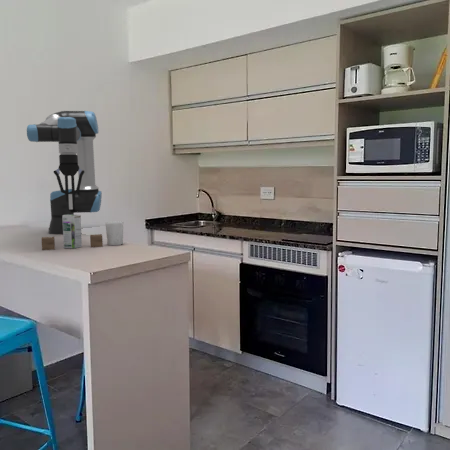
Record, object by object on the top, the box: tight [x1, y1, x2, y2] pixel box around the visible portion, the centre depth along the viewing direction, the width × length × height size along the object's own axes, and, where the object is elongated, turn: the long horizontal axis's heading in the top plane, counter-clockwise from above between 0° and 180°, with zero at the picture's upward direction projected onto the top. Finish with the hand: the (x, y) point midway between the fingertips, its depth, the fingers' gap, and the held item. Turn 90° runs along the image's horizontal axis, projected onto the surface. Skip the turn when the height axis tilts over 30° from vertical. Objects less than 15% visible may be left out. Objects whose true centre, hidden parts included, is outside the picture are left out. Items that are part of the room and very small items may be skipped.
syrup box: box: [62, 214, 83, 250], centre depth 198 cm, size 6×6×14 cm
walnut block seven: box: [41, 236, 56, 251], centre depth 195 cm, size 5×5×5 cm
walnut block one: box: [89, 233, 104, 248], centre depth 202 cm, size 5×5×5 cm
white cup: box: [105, 221, 124, 246], centre depth 205 cm, size 8×8×10 cm
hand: (71, 209), depth 196 cm, fingers closed
